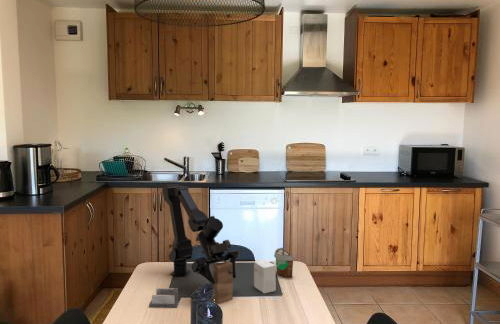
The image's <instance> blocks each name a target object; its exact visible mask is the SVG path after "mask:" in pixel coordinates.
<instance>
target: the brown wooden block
mask: <svg viewBox="0 0 500 324" xmlns="http://www.w3.org/2000/svg"><path fill="white" fill-rule="evenodd" d="M212 267H213V271H212V272H213V273H212V276H213V278H214V281H215V284H214V287H215V292H213V300H214V299H215V302H216V303H215V302H214V303H215V304H217V305H219V304H223V303H225V302H228V301H231V300H233V295H234V294H233V288H234V287H233V285H234V284H233V279H234V278H233V263H231V262H229V261H227V262H225V261H222V262H218V263H214V264H212Z"/></svg>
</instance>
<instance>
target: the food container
mask: <svg viewBox="0 0 500 324" xmlns="http://www.w3.org/2000/svg"><path fill="white" fill-rule="evenodd" d="M273 256H274V258H275V265H276V275H277V276H279V277H280V278H293V269H294V267H293V266H294V260H295V257H294V255H291V254H290V253H289V252H288V251H286V250H285V249H284V247H279V248H277V249H276V250H275V251H274V254H273Z"/></svg>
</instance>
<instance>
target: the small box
mask: <svg viewBox="0 0 500 324" xmlns="http://www.w3.org/2000/svg"><path fill="white" fill-rule="evenodd" d="M276 275H277V271H276V264H274V263H272V262H270V261H268V260H267V259H262V260H257V261H254V262H253V286H254V288H255V289H257V290H259V291H260V292H261V293H262V294H268V293H273V292H275V291H276V290H277V289H276V288H277V287H276V286H277V285H276V283H277V282H276V281H277V280H276V279H277V277H276Z"/></svg>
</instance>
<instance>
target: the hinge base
mask: <svg viewBox="0 0 500 324" xmlns="http://www.w3.org/2000/svg"><path fill="white" fill-rule="evenodd" d="M155 291H156V292H155V294H152V295H151V301H150V302H149V304H148V308H168V309H169V308H170V309H172V308H174V309H175V308H176V309H177V308H178V306H179V303H180V301H181V298H182V295H179V288H177V287H175V288H174V287H157V288H156V289H155Z"/></svg>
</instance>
